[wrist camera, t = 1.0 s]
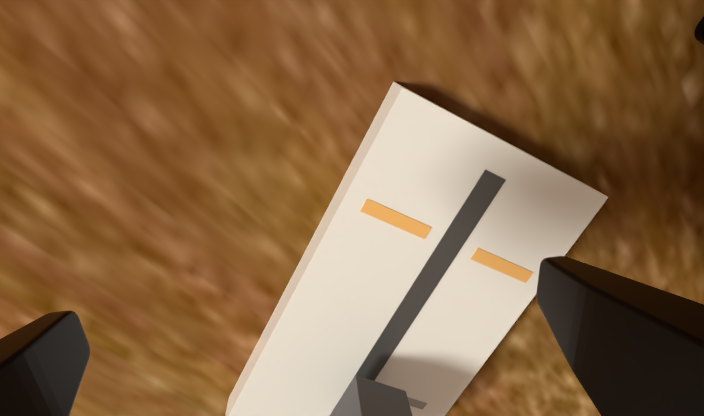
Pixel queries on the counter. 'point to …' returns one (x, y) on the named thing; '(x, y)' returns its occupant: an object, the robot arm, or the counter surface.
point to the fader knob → (372, 400)
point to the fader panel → (413, 265)
